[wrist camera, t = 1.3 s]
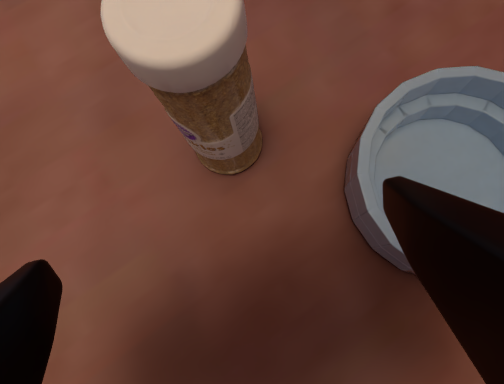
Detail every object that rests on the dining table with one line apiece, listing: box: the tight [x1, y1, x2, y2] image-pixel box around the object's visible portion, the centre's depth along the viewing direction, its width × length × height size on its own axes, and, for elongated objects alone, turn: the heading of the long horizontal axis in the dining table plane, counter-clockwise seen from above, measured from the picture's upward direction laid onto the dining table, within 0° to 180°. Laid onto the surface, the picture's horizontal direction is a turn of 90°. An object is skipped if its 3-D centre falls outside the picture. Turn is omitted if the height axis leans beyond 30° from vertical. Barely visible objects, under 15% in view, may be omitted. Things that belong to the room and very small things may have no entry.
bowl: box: [344, 66, 504, 275], centre depth 20 cm, size 11×11×4 cm
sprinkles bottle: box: [101, 0, 262, 174], centre depth 17 cm, size 5×5×14 cm
